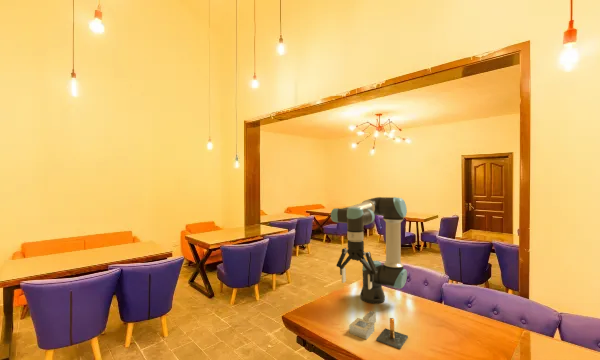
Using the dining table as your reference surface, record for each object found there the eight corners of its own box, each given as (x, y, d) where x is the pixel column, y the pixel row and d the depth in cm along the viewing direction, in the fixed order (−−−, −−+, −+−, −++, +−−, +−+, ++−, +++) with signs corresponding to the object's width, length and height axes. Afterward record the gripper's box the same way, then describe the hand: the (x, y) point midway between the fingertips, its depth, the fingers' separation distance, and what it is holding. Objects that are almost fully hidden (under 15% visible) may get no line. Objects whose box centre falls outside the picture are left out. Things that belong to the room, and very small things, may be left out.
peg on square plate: (385, 330, 135) (384, 311, 135) (407, 337, 129) (407, 317, 129) (376, 340, 127) (376, 320, 127) (400, 349, 120) (399, 327, 120)
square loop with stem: (365, 318, 147) (365, 309, 147) (381, 323, 142) (381, 314, 142) (349, 333, 133) (349, 323, 133) (366, 339, 128) (366, 328, 128)
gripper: (328, 238, 133) (329, 281, 133) (377, 245, 117) (378, 294, 117) (336, 236, 139) (337, 277, 139) (384, 241, 123) (385, 288, 123)
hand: (356, 285), depth 128 cm, fingers open, 13 cm apart
